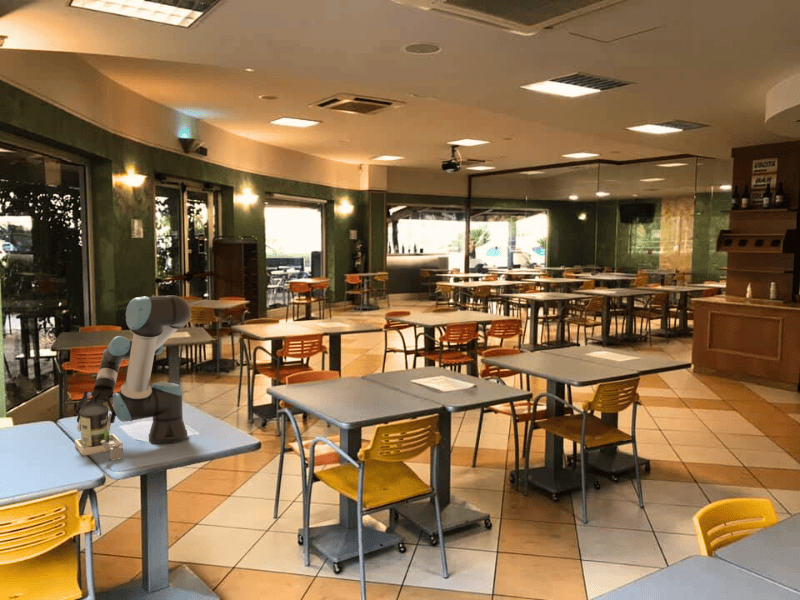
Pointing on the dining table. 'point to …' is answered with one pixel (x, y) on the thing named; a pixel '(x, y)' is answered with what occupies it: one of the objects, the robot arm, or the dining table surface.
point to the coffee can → (94, 425)
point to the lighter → (113, 450)
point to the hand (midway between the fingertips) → (93, 429)
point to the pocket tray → (97, 449)
